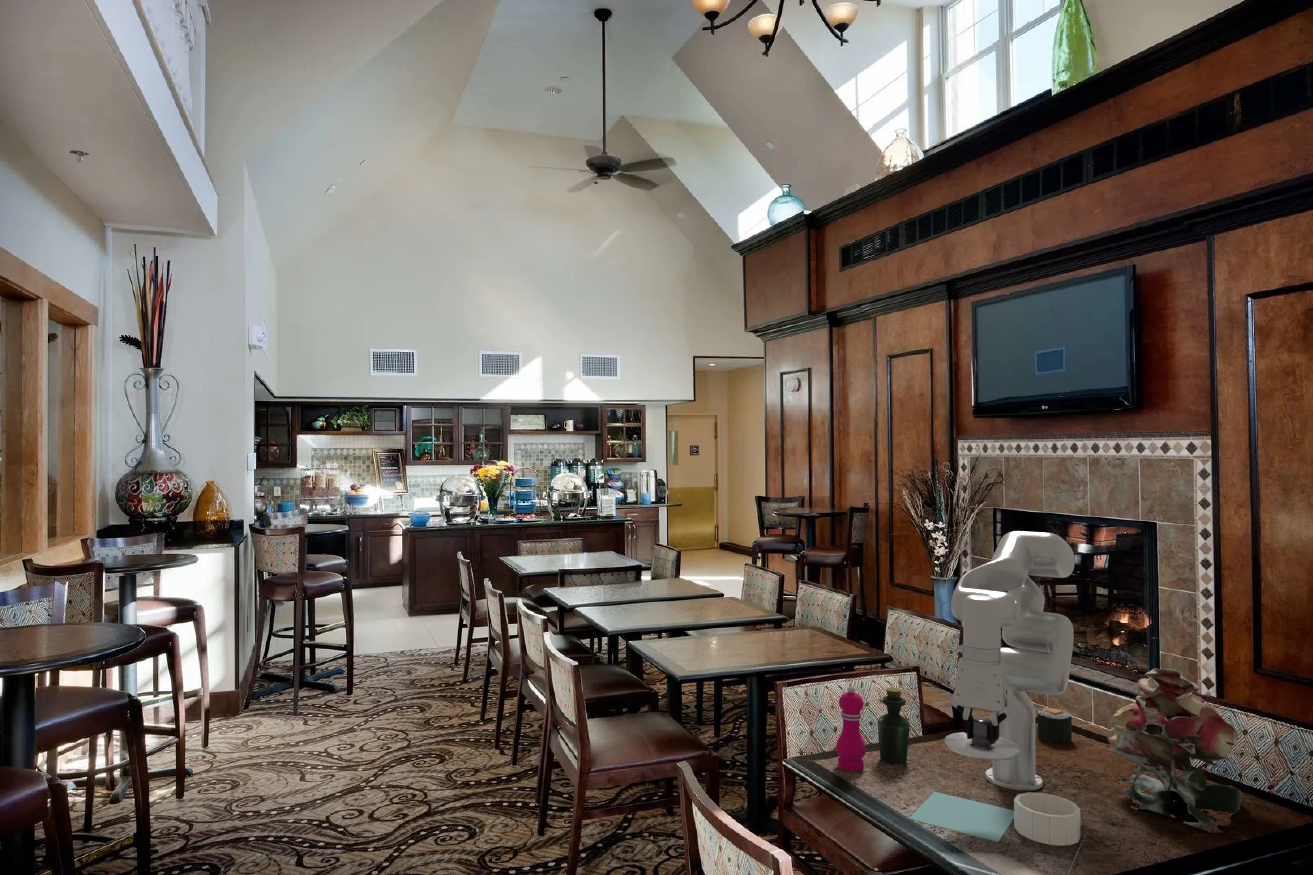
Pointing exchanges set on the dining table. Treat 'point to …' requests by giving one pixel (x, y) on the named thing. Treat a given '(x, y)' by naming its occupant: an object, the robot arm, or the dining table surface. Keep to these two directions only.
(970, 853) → the dining table surface
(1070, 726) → the sushi
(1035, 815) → the white faceted bowl
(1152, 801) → the rose bouquet
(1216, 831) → the dining table surface
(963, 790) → the dining table surface
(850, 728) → the pepper mill
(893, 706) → the potion bottle
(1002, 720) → the robot arm
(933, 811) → the teal mat
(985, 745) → the metal lid
